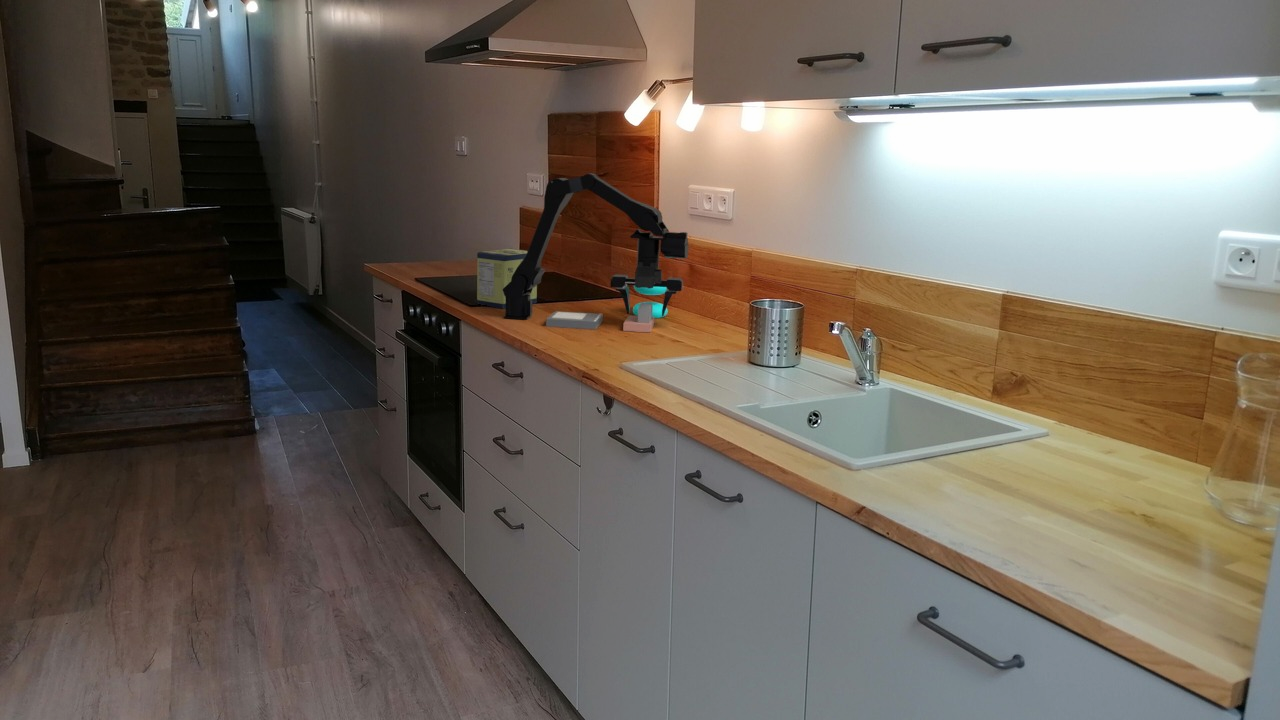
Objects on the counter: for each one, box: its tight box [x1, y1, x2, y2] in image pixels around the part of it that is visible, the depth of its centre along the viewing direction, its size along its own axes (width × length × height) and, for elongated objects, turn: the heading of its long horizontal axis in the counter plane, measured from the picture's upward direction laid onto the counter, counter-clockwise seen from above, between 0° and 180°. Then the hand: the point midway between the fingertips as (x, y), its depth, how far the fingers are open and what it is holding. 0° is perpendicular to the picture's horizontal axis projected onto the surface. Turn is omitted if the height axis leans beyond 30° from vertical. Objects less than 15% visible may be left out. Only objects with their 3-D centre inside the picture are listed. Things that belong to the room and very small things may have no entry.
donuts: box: [632, 283, 669, 319], centre depth 266 cm, size 10×10×10 cm
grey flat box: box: [545, 310, 604, 330], centre depth 251 cm, size 13×12×2 cm
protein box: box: [476, 248, 538, 310], centre depth 275 cm, size 10×16×16 cm
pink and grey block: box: [622, 302, 656, 333], centre depth 248 cm, size 7×12×6 cm, turn 174°
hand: (645, 314), depth 248 cm, fingers open, 9 cm apart
